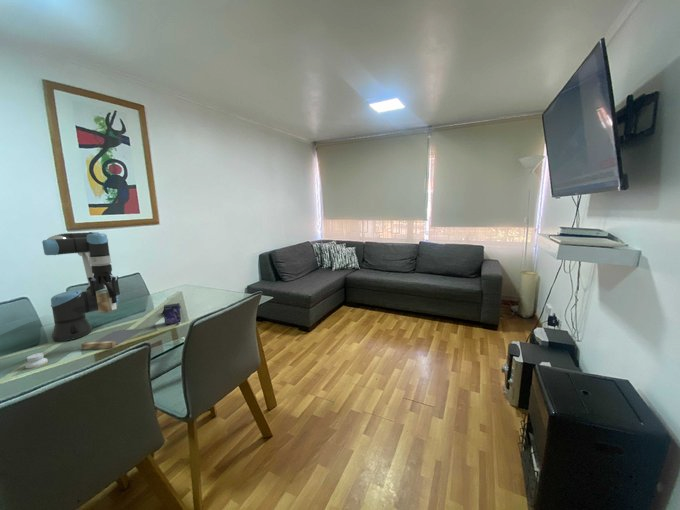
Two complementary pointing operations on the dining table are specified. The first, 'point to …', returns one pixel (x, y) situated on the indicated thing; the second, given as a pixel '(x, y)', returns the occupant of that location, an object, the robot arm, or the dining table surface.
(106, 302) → the block
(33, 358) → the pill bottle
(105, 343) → the strip
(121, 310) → the dining table surface
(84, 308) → the robot arm
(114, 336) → the mat
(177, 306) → the box
